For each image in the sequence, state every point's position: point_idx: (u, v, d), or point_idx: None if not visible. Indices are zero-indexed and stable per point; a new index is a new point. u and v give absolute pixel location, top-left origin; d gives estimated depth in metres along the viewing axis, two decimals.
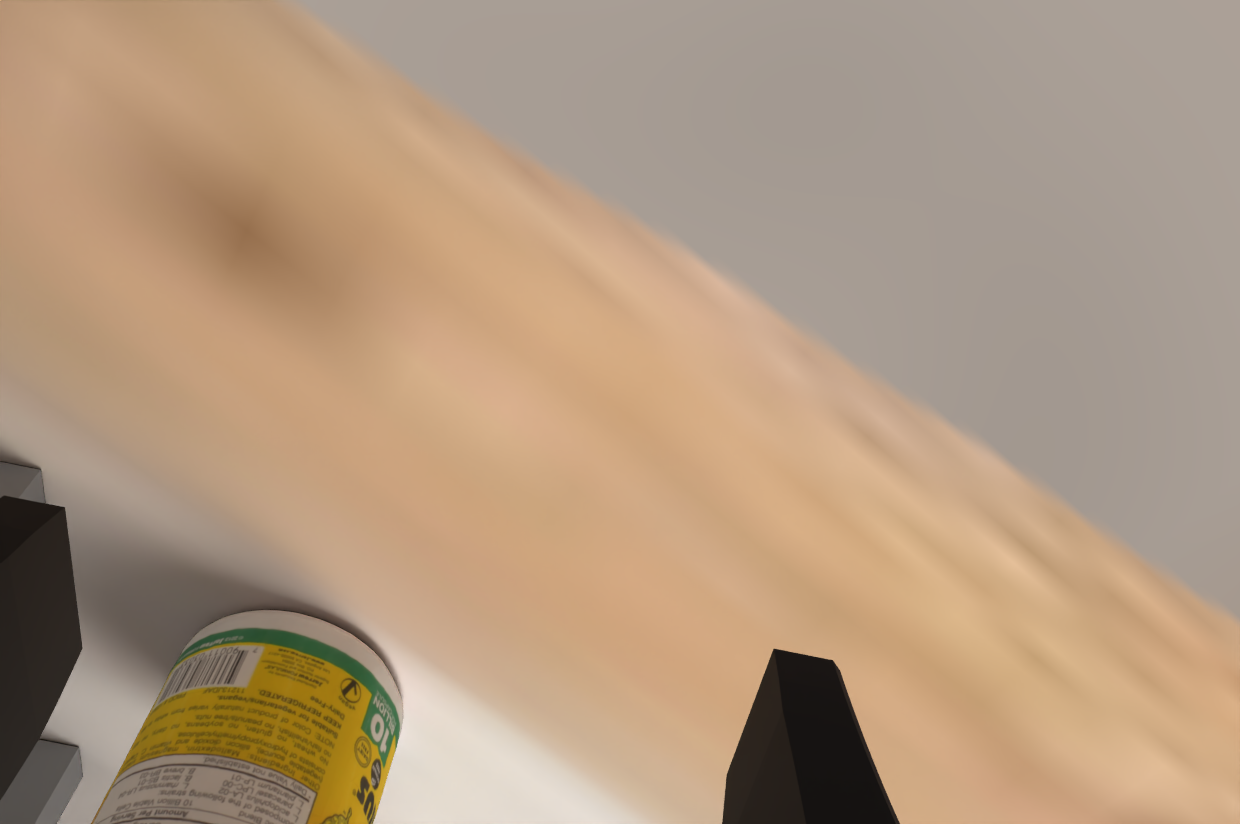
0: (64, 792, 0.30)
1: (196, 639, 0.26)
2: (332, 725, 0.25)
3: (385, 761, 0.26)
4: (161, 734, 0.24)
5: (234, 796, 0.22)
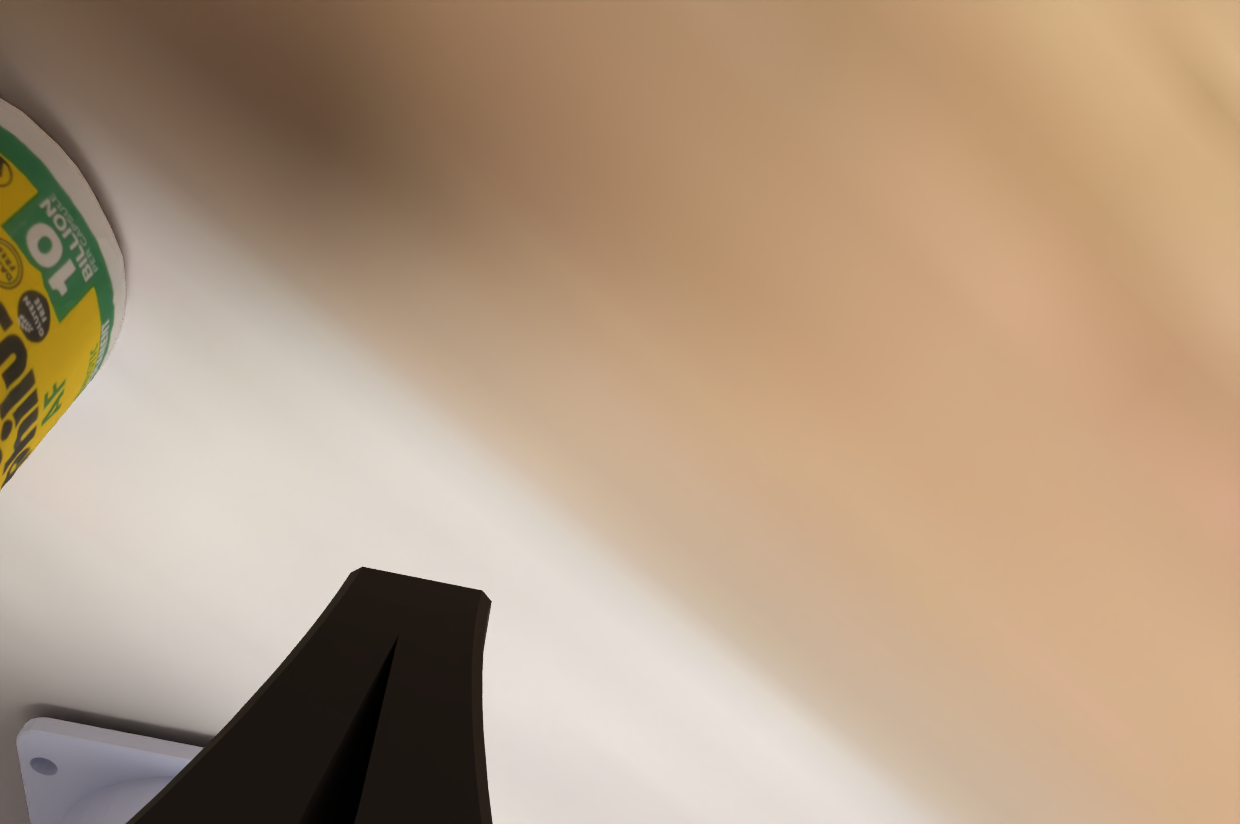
0: None
1: None
2: None
3: (63, 312, 0.15)
4: None
5: None
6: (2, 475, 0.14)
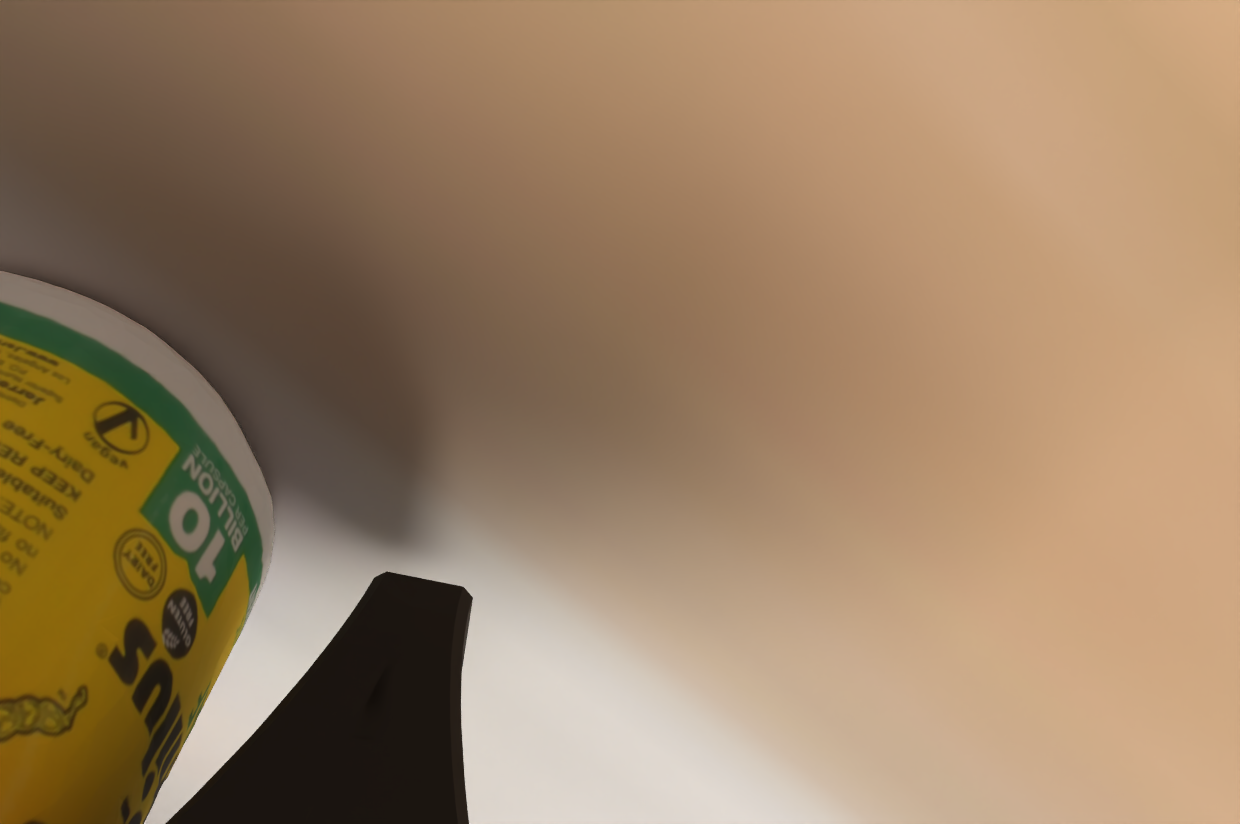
0: None
1: None
2: (54, 489, 0.10)
3: (212, 602, 0.11)
4: None
5: None
6: None
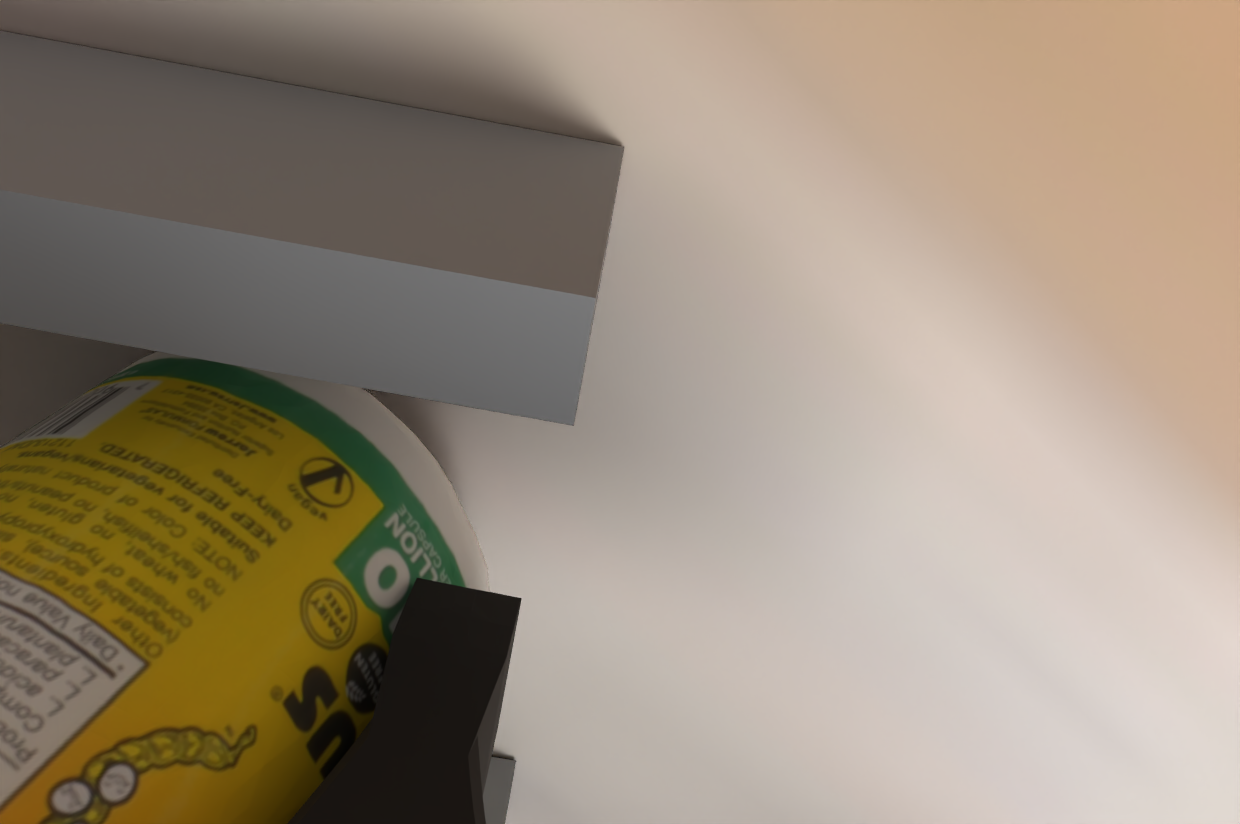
0: None
1: None
2: (249, 533, 0.10)
3: None
4: None
5: None
6: None
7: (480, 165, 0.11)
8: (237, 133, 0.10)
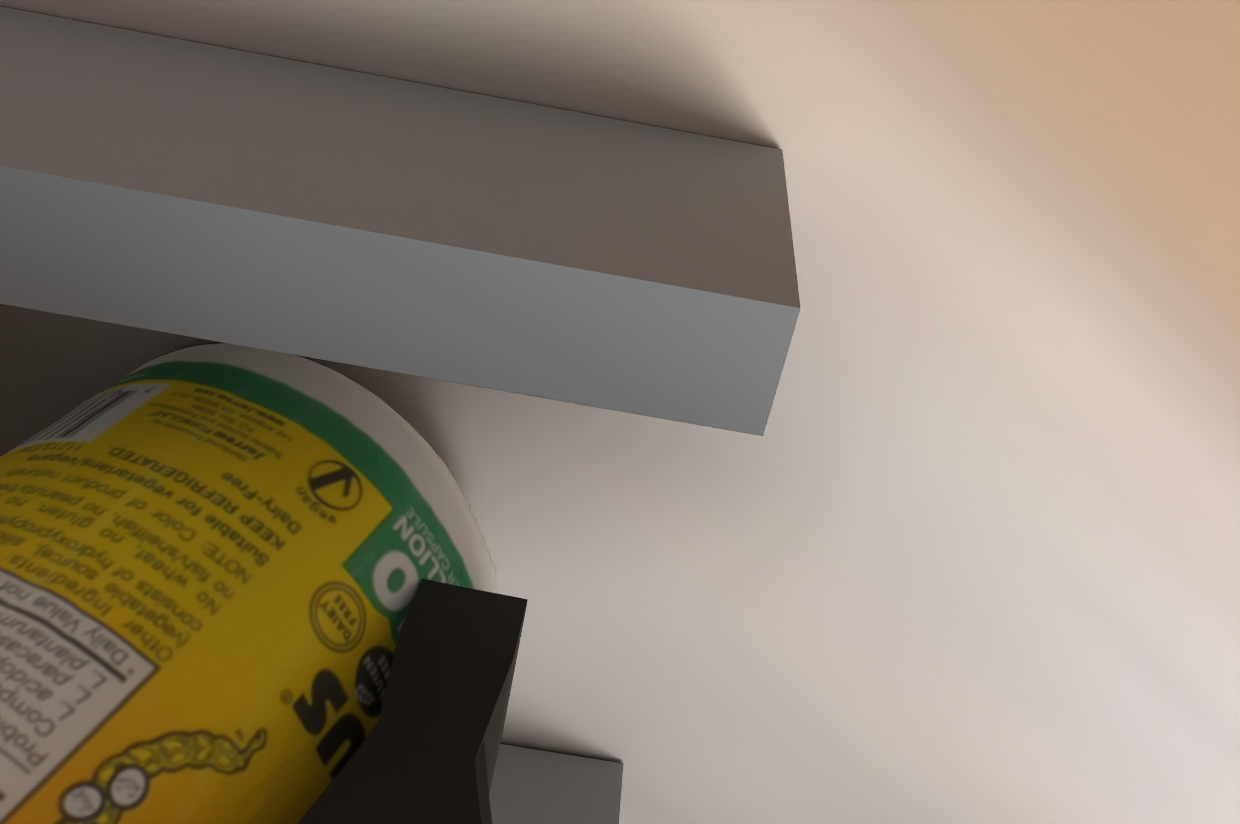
0: None
1: None
2: (258, 537, 0.10)
3: None
4: None
5: None
6: None
7: (649, 171, 0.10)
8: (408, 139, 0.10)
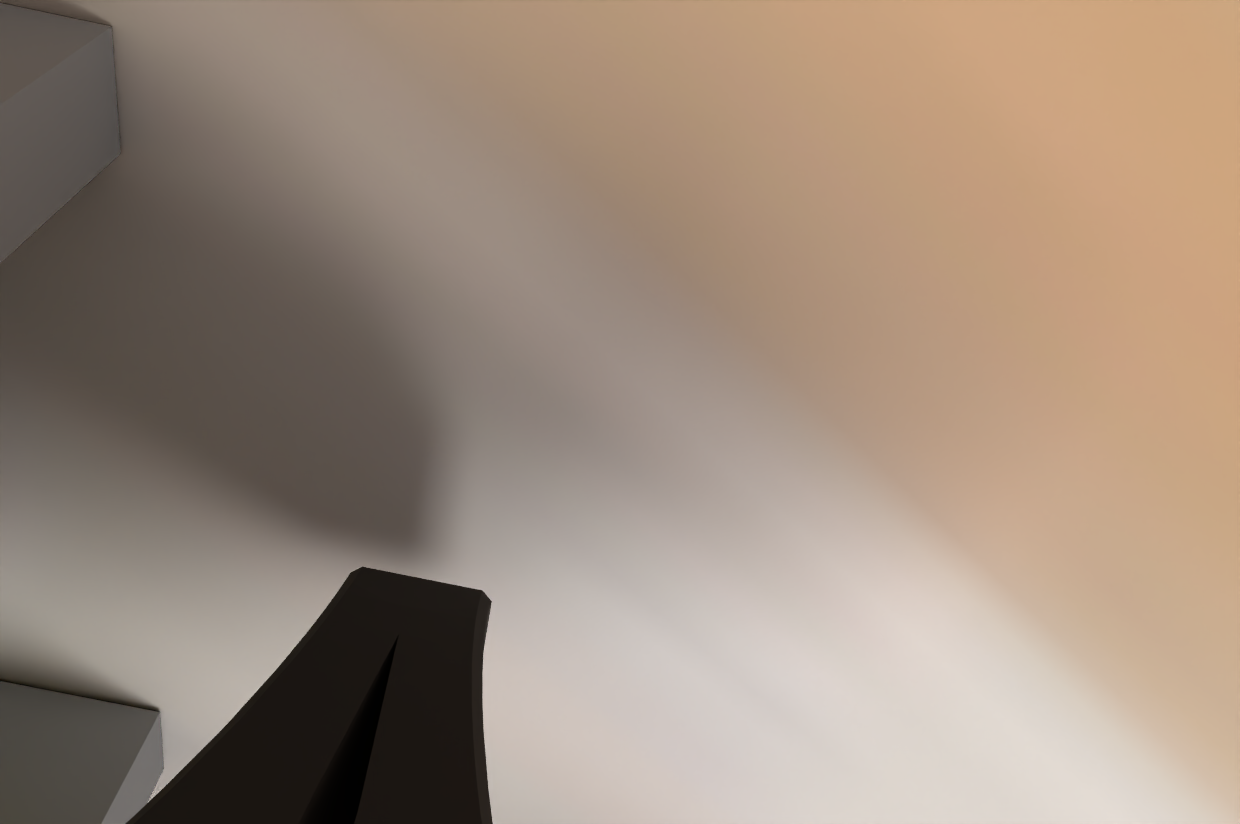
0: (134, 798, 0.15)
1: None
2: None
3: None
4: None
5: None
6: None
7: None
8: None
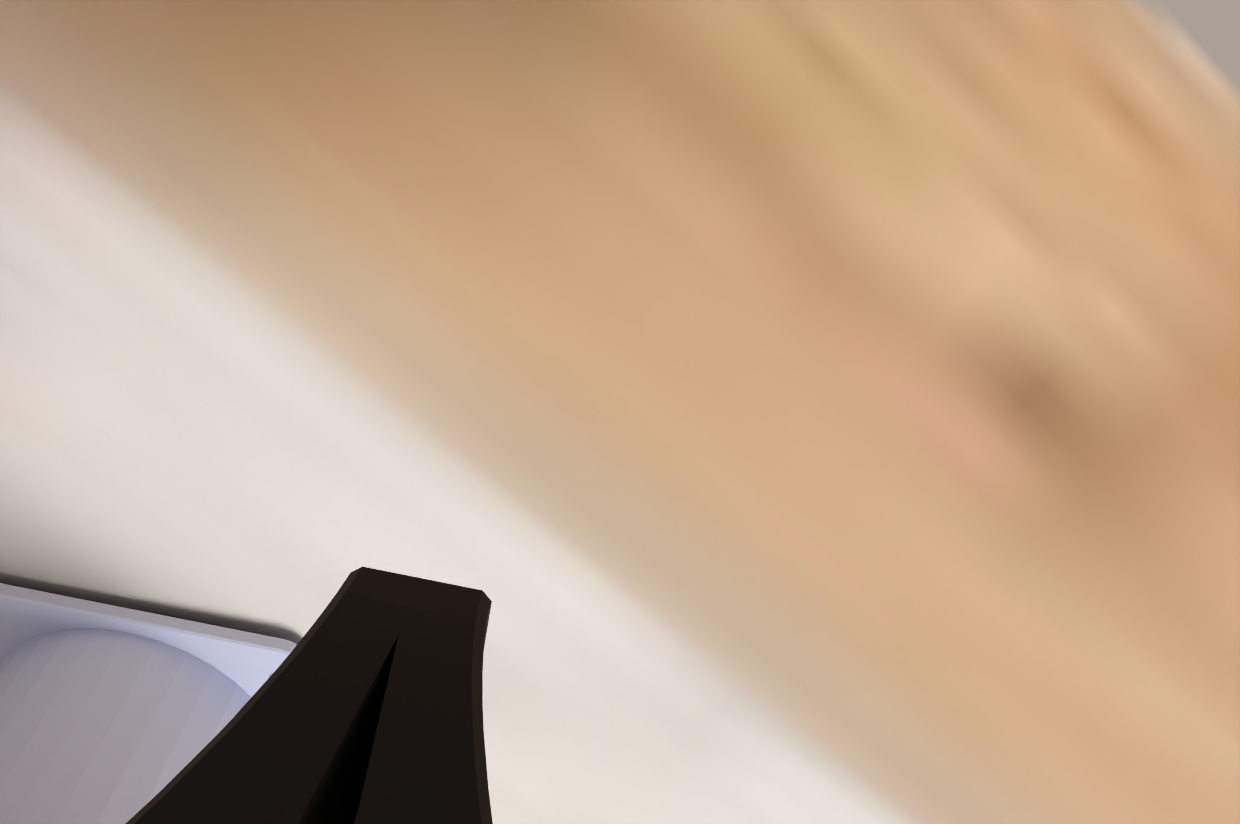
0: None
1: None
2: None
3: None
4: None
5: None
6: None
7: None
8: None
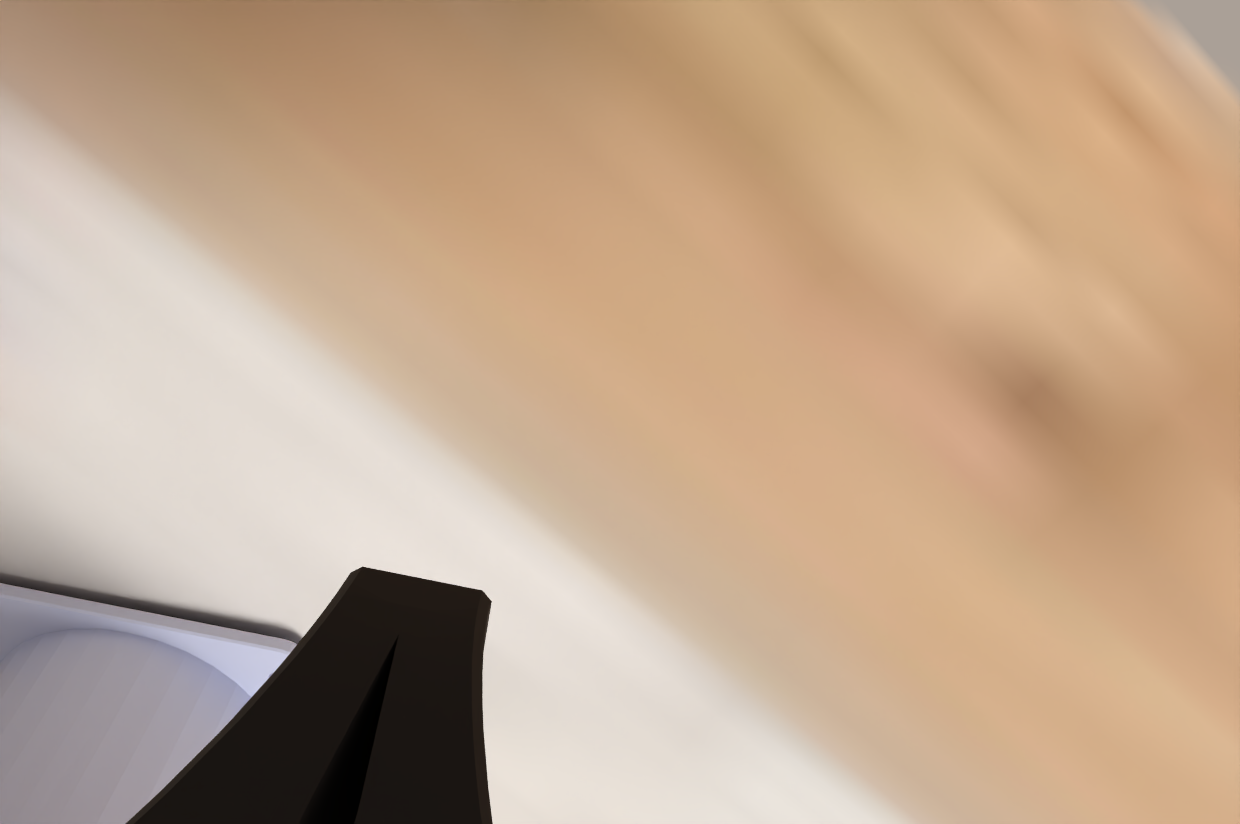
0: None
1: None
2: None
3: None
4: None
5: None
6: None
7: None
8: None
